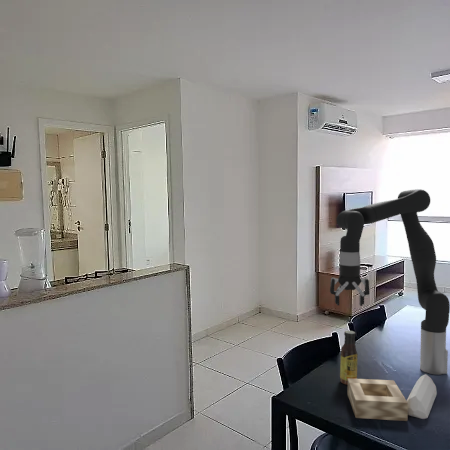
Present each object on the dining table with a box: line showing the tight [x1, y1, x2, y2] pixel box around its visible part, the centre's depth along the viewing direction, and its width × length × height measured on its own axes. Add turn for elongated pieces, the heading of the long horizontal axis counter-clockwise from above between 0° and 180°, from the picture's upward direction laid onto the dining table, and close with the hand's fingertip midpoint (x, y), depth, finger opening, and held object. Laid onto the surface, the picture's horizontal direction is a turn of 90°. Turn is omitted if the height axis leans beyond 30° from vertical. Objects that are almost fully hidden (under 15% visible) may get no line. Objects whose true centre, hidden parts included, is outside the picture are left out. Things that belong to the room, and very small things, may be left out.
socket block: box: [347, 378, 409, 422], centre depth 138 cm, size 16×16×6 cm
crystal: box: [406, 373, 438, 420], centre depth 140 cm, size 7×7×24 cm
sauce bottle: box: [339, 330, 359, 386], centre depth 156 cm, size 6×6×20 cm
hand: (349, 305), depth 155 cm, fingers open, 8 cm apart
